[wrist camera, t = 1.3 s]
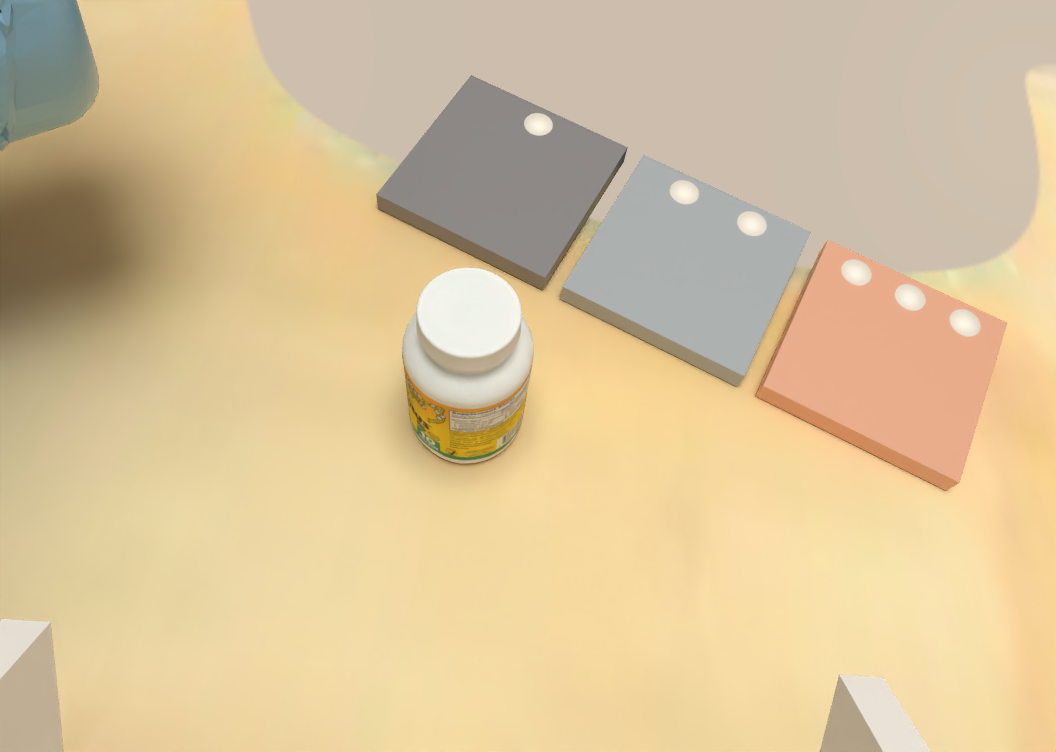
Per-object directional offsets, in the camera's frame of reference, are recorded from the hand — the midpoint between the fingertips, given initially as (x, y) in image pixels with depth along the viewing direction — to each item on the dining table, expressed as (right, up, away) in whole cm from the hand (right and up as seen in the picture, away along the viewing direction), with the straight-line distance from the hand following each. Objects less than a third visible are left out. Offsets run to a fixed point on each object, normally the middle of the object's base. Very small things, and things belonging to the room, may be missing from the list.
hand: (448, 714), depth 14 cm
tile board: (+10, +11, +30) cm, 34 cm away
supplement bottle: (-2, +4, +26) cm, 26 cm away
